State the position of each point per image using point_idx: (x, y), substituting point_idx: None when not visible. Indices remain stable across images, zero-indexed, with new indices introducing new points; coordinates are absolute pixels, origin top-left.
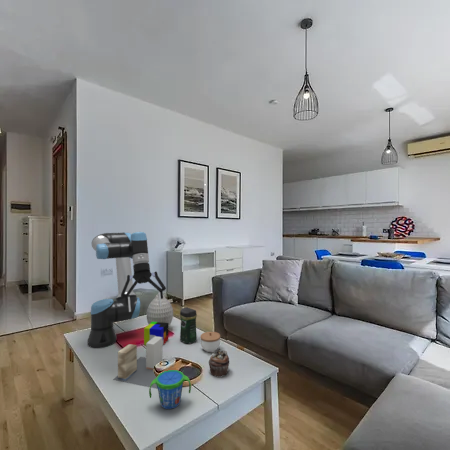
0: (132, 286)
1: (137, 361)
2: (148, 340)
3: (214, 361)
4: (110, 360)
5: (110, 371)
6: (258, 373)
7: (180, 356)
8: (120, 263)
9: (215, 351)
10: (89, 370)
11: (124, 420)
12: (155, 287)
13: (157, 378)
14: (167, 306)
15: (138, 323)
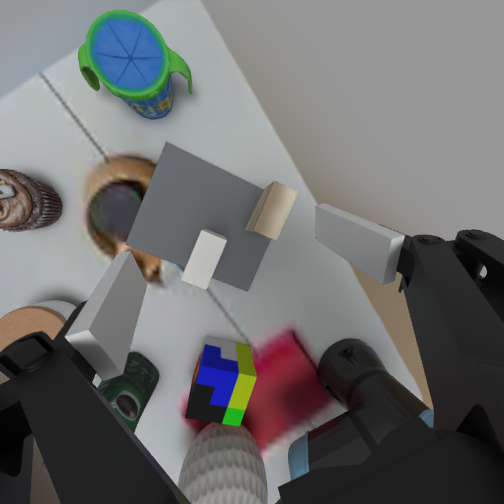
0: (482, 319)
1: (250, 270)
2: (239, 352)
3: (14, 178)
4: (309, 283)
5: (299, 237)
6: None
7: (150, 289)
8: None
9: None
10: None
11: (234, 64)
12: (112, 411)
13: (165, 58)
14: None
15: (285, 469)
